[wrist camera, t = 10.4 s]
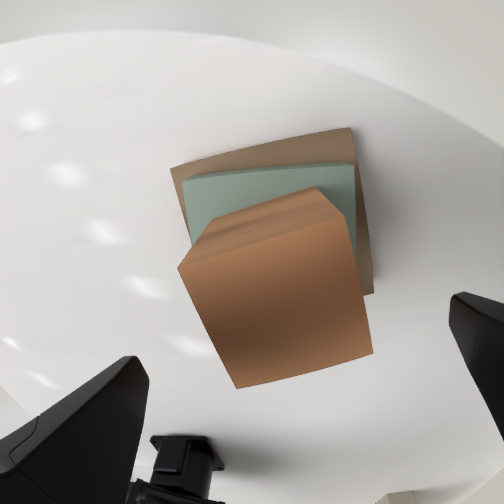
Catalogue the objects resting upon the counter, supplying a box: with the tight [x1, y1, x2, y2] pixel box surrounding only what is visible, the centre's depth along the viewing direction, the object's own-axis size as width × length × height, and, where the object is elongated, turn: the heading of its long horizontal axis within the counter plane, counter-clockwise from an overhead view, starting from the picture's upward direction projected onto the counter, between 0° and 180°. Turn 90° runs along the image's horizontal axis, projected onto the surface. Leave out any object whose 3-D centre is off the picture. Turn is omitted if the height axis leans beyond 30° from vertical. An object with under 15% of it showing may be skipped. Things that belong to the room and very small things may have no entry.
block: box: [177, 186, 373, 389], centre depth 12 cm, size 5×5×6 cm
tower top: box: [182, 162, 356, 261], centre depth 16 cm, size 8×8×2 cm
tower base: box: [170, 128, 374, 296], centre depth 19 cm, size 10×10×2 cm
